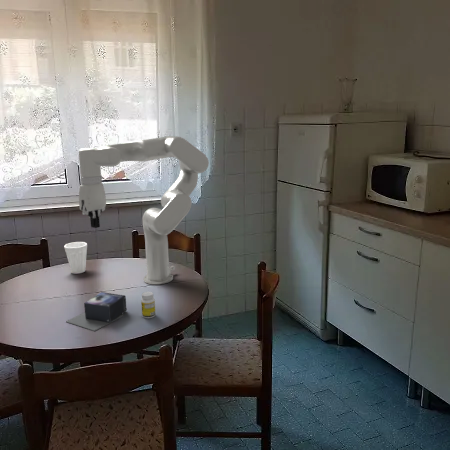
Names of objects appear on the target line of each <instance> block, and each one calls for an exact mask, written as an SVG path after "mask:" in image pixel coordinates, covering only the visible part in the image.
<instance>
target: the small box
mask: <svg viewBox="0 0 450 450" xmlns="http://www.w3.org/2000/svg"><path fill="white" fill-rule="evenodd" d="M83 305H84V307H83V308H84V312H85V317H86V319H91V320H97V321H103V322H109V324H111V323H113V322H114V321H113V320H114V319H116V318H117V317H118V316H120V315H121V314H124V313H125V312H127V310H128V309H127V298H126V295H123V294H117V293H110V292H105V291H103V292H102V291H101V292H99V293H98V294H96V295H95V296H93V297H91V298H90V299H88V300H87V301H85V302H84V304H83ZM116 320H117V319H116ZM112 321H113V322H112ZM110 322H111V323H110Z"/></svg>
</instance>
